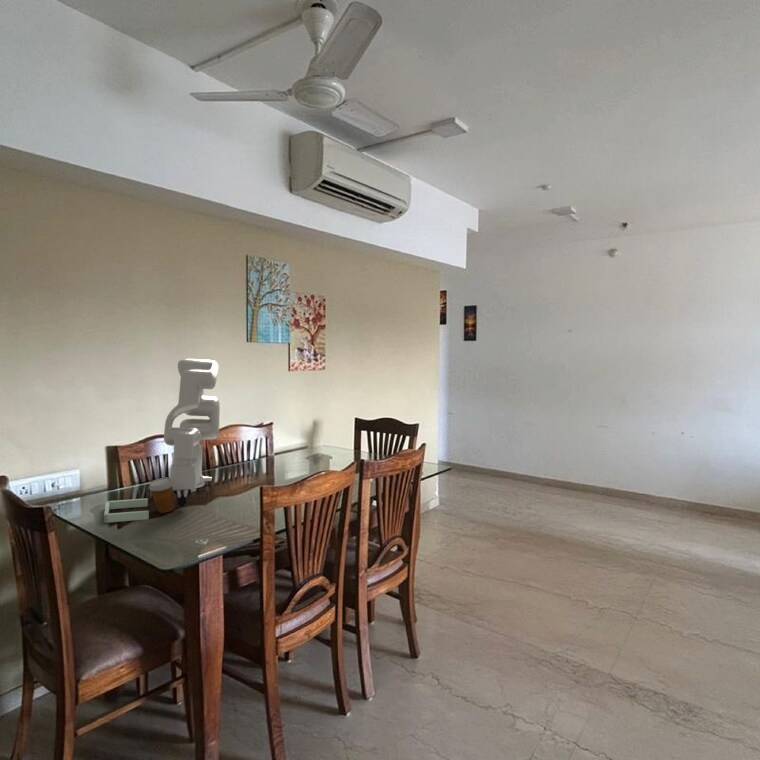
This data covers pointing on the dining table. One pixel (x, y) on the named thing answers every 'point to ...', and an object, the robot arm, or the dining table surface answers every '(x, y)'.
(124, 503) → the bay
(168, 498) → the disposable coffee cup
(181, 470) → the robot arm
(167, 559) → the dining table surface
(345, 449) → the dining table surface
